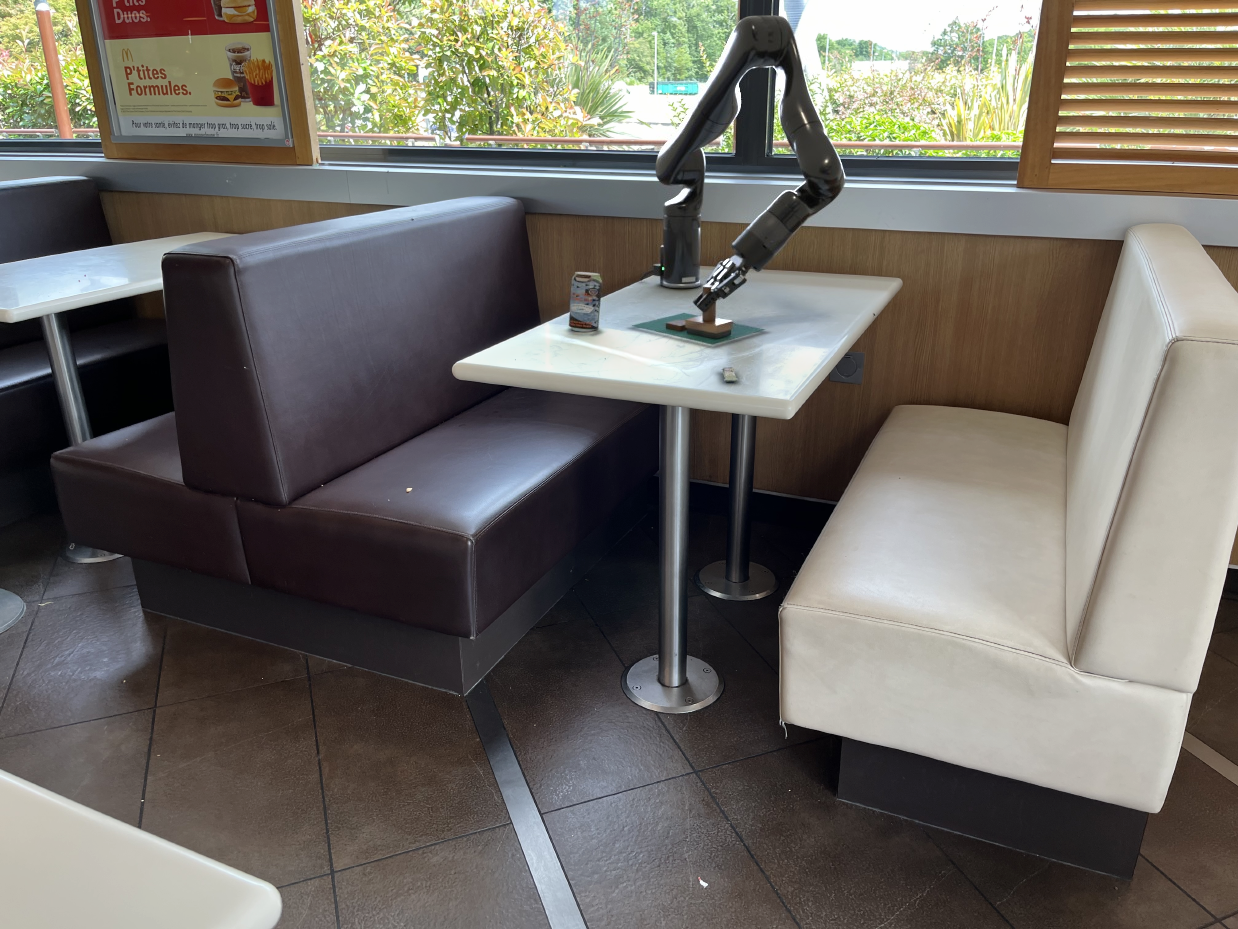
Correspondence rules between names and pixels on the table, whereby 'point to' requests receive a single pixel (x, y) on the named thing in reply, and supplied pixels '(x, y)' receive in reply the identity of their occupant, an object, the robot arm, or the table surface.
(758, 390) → the table surface
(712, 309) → the brush
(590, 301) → the beverage can
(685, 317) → the mat
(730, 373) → the granola bar
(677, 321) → the brown square block
